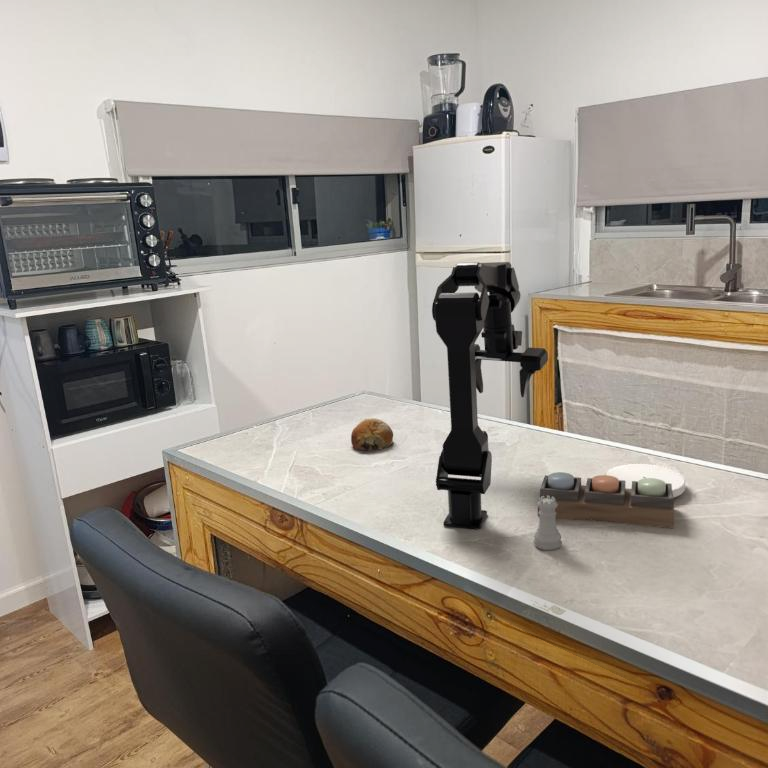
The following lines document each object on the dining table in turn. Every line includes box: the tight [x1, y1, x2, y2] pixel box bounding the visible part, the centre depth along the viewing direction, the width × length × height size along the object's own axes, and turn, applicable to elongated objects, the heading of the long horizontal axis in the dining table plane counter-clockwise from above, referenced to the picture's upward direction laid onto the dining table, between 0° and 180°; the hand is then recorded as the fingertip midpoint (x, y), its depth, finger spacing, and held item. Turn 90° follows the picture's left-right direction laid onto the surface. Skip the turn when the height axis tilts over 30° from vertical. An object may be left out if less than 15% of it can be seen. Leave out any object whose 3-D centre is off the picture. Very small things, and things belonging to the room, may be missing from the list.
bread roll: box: [350, 418, 394, 452], centre depth 166 cm, size 10×10×8 cm
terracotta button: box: [592, 474, 619, 493], centre depth 122 cm, size 4×4×2 cm
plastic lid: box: [604, 463, 686, 499], centre depth 131 cm, size 14×14×2 cm
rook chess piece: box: [533, 496, 563, 551], centre depth 112 cm, size 4×4×8 cm
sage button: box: [638, 478, 666, 497], centre depth 119 cm, size 4×4×2 cm
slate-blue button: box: [547, 471, 574, 490], centre depth 125 cm, size 4×4×2 cm
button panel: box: [537, 474, 675, 529], centre depth 123 cm, size 8×22×5 cm, turn 70°
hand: (502, 394), depth 148 cm, fingers open, 9 cm apart
